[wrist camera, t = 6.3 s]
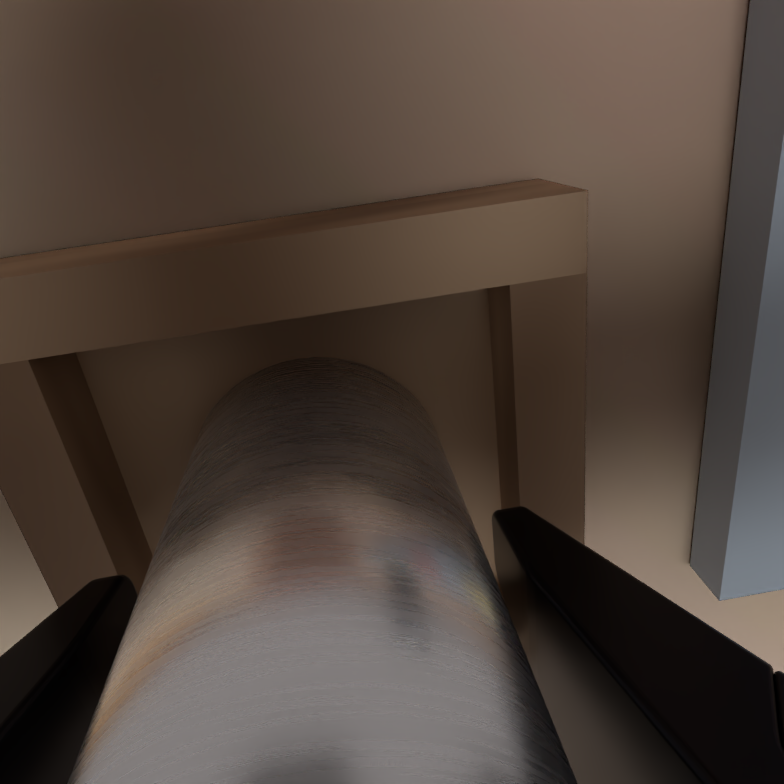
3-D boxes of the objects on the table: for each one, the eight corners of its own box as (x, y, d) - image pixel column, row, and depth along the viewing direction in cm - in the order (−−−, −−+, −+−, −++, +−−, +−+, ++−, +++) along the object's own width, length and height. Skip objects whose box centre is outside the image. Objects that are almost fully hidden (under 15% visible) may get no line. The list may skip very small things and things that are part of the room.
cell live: (427, 337, 9) (805, 1030, 2) (450, 544, 11) (701, 1313, 4) (162, 379, 9) (-408, 1322, 2) (227, 586, 10) (59, 1482, 4)
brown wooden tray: (538, 178, 9) (588, 190, 7) (548, 590, 12) (583, 663, 10) (-13, 259, 8) (-95, 292, 7) (154, 661, 12) (126, 747, 10)
